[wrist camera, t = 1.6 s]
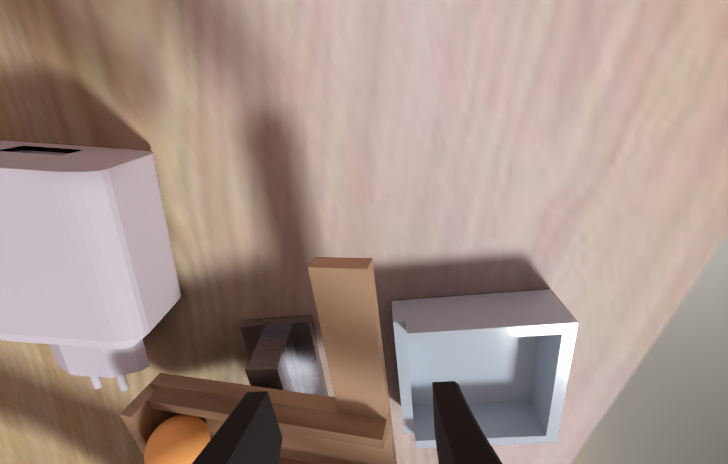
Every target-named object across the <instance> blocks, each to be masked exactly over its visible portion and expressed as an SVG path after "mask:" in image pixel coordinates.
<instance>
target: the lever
mask: <svg viewBox="0 0 728 464" xmlns="http://www.w3.org/2000/svg"><path fill="white" fill-rule="evenodd" d="M308 271H309V276H310V281H311V285H312V290H313V295H314V300H315V304H316V309H317V314H318V319H319V323H320V328H321V333H322V337H323V342H324V347H325V352H326V356H327V361H328V366H329V371H330V375H331V380H332V385H333V389H334V394H335V397H329V396H321V395H314V394H307V393H300V392H293V391H285V390H278V389H271V388H264V387H257V386H249V385H242V384H235V383H228V382H220V381H213V380H206V379H199V378H192V377H184V376H177V375H170V374H163V373H160V374H159V375H158V376H157V377H156V378H155V379H154V380H153V381H152V382H151V383H150V384H149V385H148V386H147V387H146V388H145V389H144V390H143V391H142V392H141V393H140V394H139V395H138V396H137V397H136V398H135V399H134V400H133V401H132V402H131V403H130V404H129V406H128V407H127V408H126V409H125V410H124V411H123V412H122V413H121V414H120V417H121V419H122V420H123V422H124V424H125V425H126V427H127V429H128V430H129V432H130V434H131V435H132V437H133V439H134V440H135V442H136V444H137V445H138V447H139V449H140V450H141V452H142V454H143V455H144V452H145V447H146V444H147V442H148V439H149V438H150V436H151V434H152V433H153V432H154V430H155V429H156V428H157V427H158V426H159V425H160V424H161V423H163V422H164V421H166V420H167V419H169V418H171V417H173V416H176V415H181V414H186V415H192V416H197V417H199V418H200V419H202V420H203V421H204V422H205V423H206V425H207V427H208V429H209V432H210V440H211V439H212V437H213V436H214V435H215V433H216V432H217V431H218V430H219V428H220V427H221V426H222V424H223V423H224V422H225V420H226V419H227V418H228V416H229V415H230V414H231V412H232V411H233V410H234V408H235V407H236V406H237V404H238V403H239V402H240V401H241V399H242V398H243V397H244V395H245V394H246V393H247V392H257V391H268V394H269V397H270V400H271V403H272V406H273V409H274V412H275V415H276V419H277V422H278V425H279V428H280V431H281V434H282V437H283V438H282V445H281V451H280V457H279V463H278V464H397V462H396V453H395V445H394V437H393V428H392V420H391V411H390V403H389V395H388V386H387V378H386V370H385V361H384V353H383V345H382V336H381V328H380V319H379V311H378V303H377V294H376V286H375V278H374V269H373V261H372V258H330V257H315V258H314V260H313V261H312V262H311V264H310V265H309V266H308Z"/></svg>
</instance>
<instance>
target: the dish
mask: <svg viewBox="0 0 728 464" xmlns="http://www.w3.org/2000/svg"><path fill="white" fill-rule="evenodd" d="M392 315H393V328H394V338H395V348H396V358H397V368H398V378H399V388H400V398H401V408H402V418H403V428H404V434H408V433H415V443H416V448H432V447H437V446H436V439H435V432H434V410H433V388H432V382H447V381H455V382H456V383H458V384H459V387H460V389H461V391H462V393H463V396H464V398H465V400H466V402H467V404H468V406H469V408H470V410H471V411H472V413H473V415H474V417H475V419H476V421H477V422H478V424H479V426H480V428H481V430H482V431H483V433H484V435H485V436H486V438H487V440H488V442H489V443H490V445H512V444H539V443H557V438H558V432H559V427H560V421H561V416H562V410H563V405H564V399H565V394H566V388H567V383H568V377H569V372H570V366H571V361H572V355H573V350H574V344H575V339H576V333H577V328H578V321H577V320H576V319H575V318H574V317H573V315H572V314H571V313H570V312H569V310H568V309H567V308H566V307H565V306H564V304H563V303H562V302H561V301H560V300H559V298H558V297H557V296H556V295H555V293H554V292H553V291H552V290H551V289H545V290H532V291H518V292H504V293H490V294H476V295H463V296H449V297H435V298H421V299H408V300H394V301H392Z"/></svg>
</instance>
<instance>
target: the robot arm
mask: <svg viewBox="0 0 728 464" xmlns="http://www.w3.org/2000/svg"><path fill="white" fill-rule="evenodd" d="M432 388H433V410H434V432H435V439H436V446H437V453H438V460H439V464H502V462H501V461H500V459H499V458H498V456H497V454H496V453H495V451H494V450H493V448H492V446H491V445H490V443H489V442H488V440H487V438H486V436H485V435H484V433H483V431H482V430H481V428H480V426H479V424H478V422H477V421H476V419H475V417H474V415H473V413H472V411H471V410H470V408H469V406H468V404H467V402H466V400H465V398H464V396H463V393H462V391H461V389H460V387H459V384H458V383H456V382H455V381H447V382H432ZM282 438H283V437H282V434H281V431H280V428H279V425H278V422H277V419H276V415H275V412H274V409H273V406H272V403H271V400H270V397H269V394H268V391H257V392H247V393H246V394H245V395H244V397H243V398H242V399H241V401H240V402H239V403H238V404H237V406H236V407H235V408H234V410H233V411H232V412H231V414H230V415H229V416H228V418H227V419H226V420H225V422H224V423H223V424H222V426H221V427H220V428H219V430H218V431H217V432H216V433H215V435H214V436H213V437H212V439H211V440H210V441H209V443H208V444H207V445H206V446H205V448H204V449H203V450H202V451H201V453H200V454H199V455H198V456H197V458H196V459H195V460H194V461H193V463H192V464H278V463H279V457H280V451H281V445H282Z"/></svg>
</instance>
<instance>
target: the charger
mask: <svg viewBox="0 0 728 464" xmlns="http://www.w3.org/2000/svg"><path fill="white" fill-rule="evenodd" d="M18 146H36V147H50V148H65V149H79V150H82V151H77V152H73V153H56V152H41V151H27V150H18V151H13V152H6V151H0V339H2V340H5V341H15V342H29V343H42V344H49V345H50V347H51V350H52V352H53V354H54V357H55V359H56V362H57V364H58V365H59V366H60V367H61V368H62V369H64V370H65V371H66V372H67V373H69V374H70V375H76V376H89V378H90V380H91V383H92V386H93V388H94V389H99V388H101V387H102V386H103V385H102V382H101V379H100V377H103V378H113V377H116V379H117V382H118V385H119V388H120V390H121V391H126V390H127V389H128V388H129V385H128V382H127V379H126V376H125V374H129V373H133V372H137V371H141V370H143V369H145V368H147V367H149V366H150V365H149V361H148V357H147V353H146V350H145V346H144V342H143V338H144V337H145V336H146V335H147V334H148V333H150V332H151V330H152V329H153V328H154V327H155V326H156V325H157V324H158V323H159V321H160V320H161V319H162V318H163V317H164V316H165V315H166V314H167V313H168V311H169V310H170V309H171V308H172V307H173V306H174V305H175V304H176V302H177V301H178V300H179V299H180V298H181V292H180V287H179V282H178V277H177V272H176V267H175V262H174V256H173V251H172V246H171V241H170V236H169V231H168V226H167V221H166V216H165V211H164V206H163V201H162V196H161V191H160V186H159V180H158V175H157V170H156V165H155V160H154V155H153V153H152V152H151V151H145V150H133V149H119V148H105V147H90V146H76V145H61V144H47V143H33V142H18V141H2V140H0V150H3V149H8V148H13V147H18Z"/></svg>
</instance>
